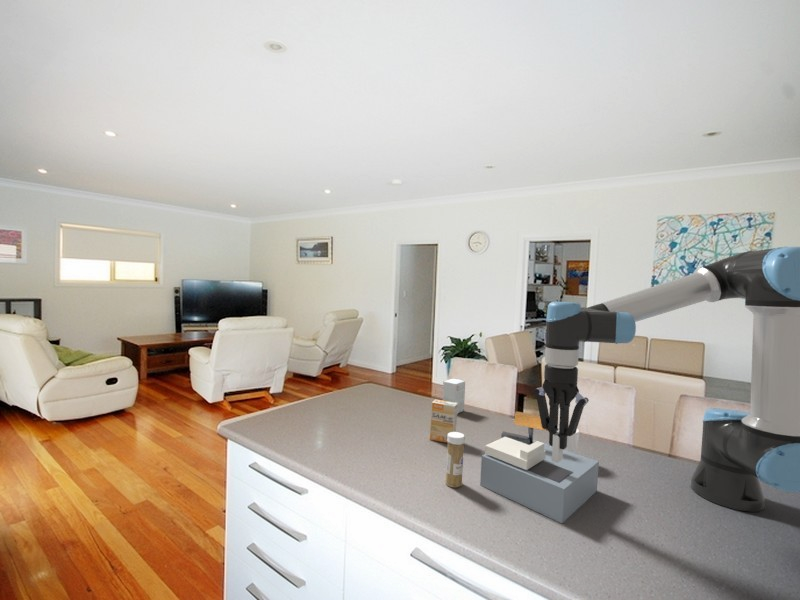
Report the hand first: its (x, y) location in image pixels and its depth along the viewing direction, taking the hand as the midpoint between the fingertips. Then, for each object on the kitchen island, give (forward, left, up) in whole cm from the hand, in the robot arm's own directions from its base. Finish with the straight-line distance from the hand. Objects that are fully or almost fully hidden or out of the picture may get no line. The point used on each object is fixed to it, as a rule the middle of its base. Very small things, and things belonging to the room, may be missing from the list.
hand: (557, 460), depth 96 cm
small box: (+60, -37, -11) cm, 71 cm away
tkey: (+14, -10, -2) cm, 17 cm away
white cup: (+9, -27, -11) cm, 31 cm away
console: (+6, -4, -11) cm, 14 cm away
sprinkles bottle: (+22, +12, -11) cm, 28 cm away
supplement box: (+43, -9, -11) cm, 46 cm away
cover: (+11, +1, -3) cm, 11 cm away
